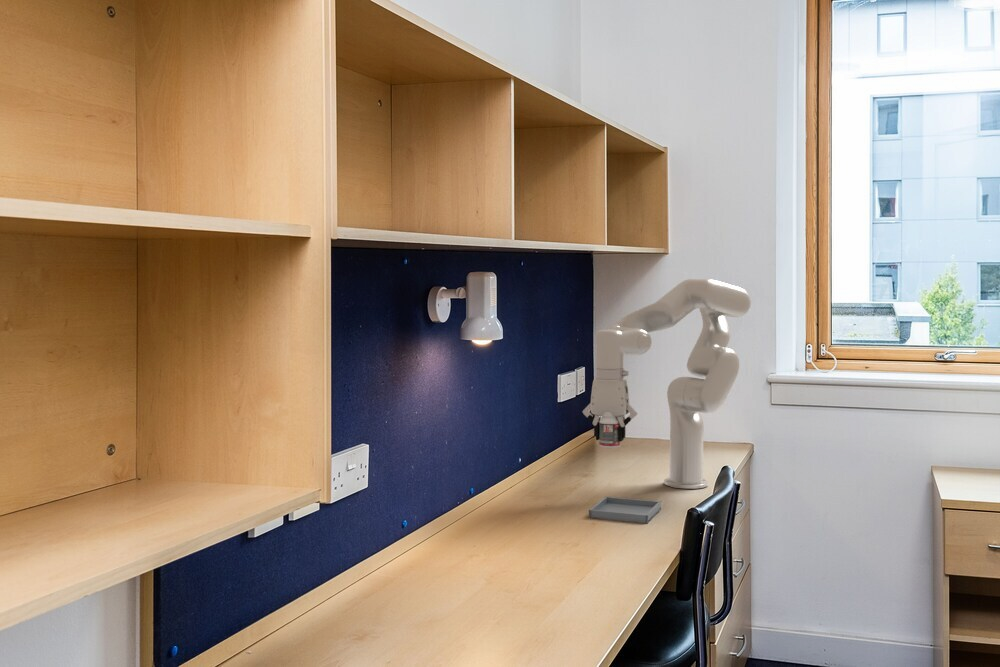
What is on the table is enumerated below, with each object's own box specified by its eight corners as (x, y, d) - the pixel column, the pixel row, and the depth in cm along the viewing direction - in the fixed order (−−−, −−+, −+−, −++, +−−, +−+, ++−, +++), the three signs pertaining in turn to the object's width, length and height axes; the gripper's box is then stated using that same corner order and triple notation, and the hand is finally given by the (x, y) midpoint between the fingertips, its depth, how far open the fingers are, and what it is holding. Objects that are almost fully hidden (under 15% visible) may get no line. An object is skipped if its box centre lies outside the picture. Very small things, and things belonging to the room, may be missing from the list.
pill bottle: (619, 449, 264) (619, 412, 263) (598, 448, 265) (598, 412, 264) (620, 445, 269) (620, 409, 269) (600, 444, 270) (600, 409, 270)
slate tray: (605, 503, 260) (605, 496, 260) (661, 509, 254) (661, 501, 254) (588, 517, 245) (588, 509, 245) (647, 523, 239) (647, 515, 239)
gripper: (643, 374, 266) (643, 439, 267) (583, 372, 272) (583, 436, 274) (637, 377, 259) (637, 444, 260) (575, 375, 265) (575, 440, 267)
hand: (609, 439), depth 267 cm, fingers closed on pill bottle, 5 cm apart
